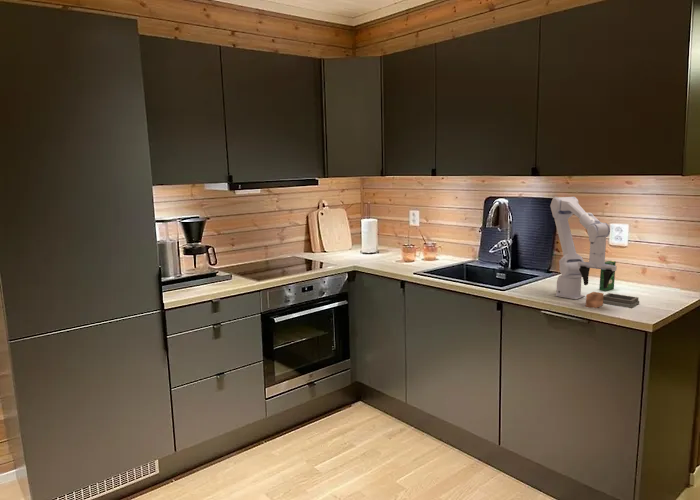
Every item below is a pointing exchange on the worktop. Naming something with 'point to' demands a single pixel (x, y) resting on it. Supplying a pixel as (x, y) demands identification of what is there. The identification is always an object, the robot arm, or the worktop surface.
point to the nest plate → (620, 300)
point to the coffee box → (611, 281)
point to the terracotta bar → (594, 299)
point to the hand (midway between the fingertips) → (595, 286)
